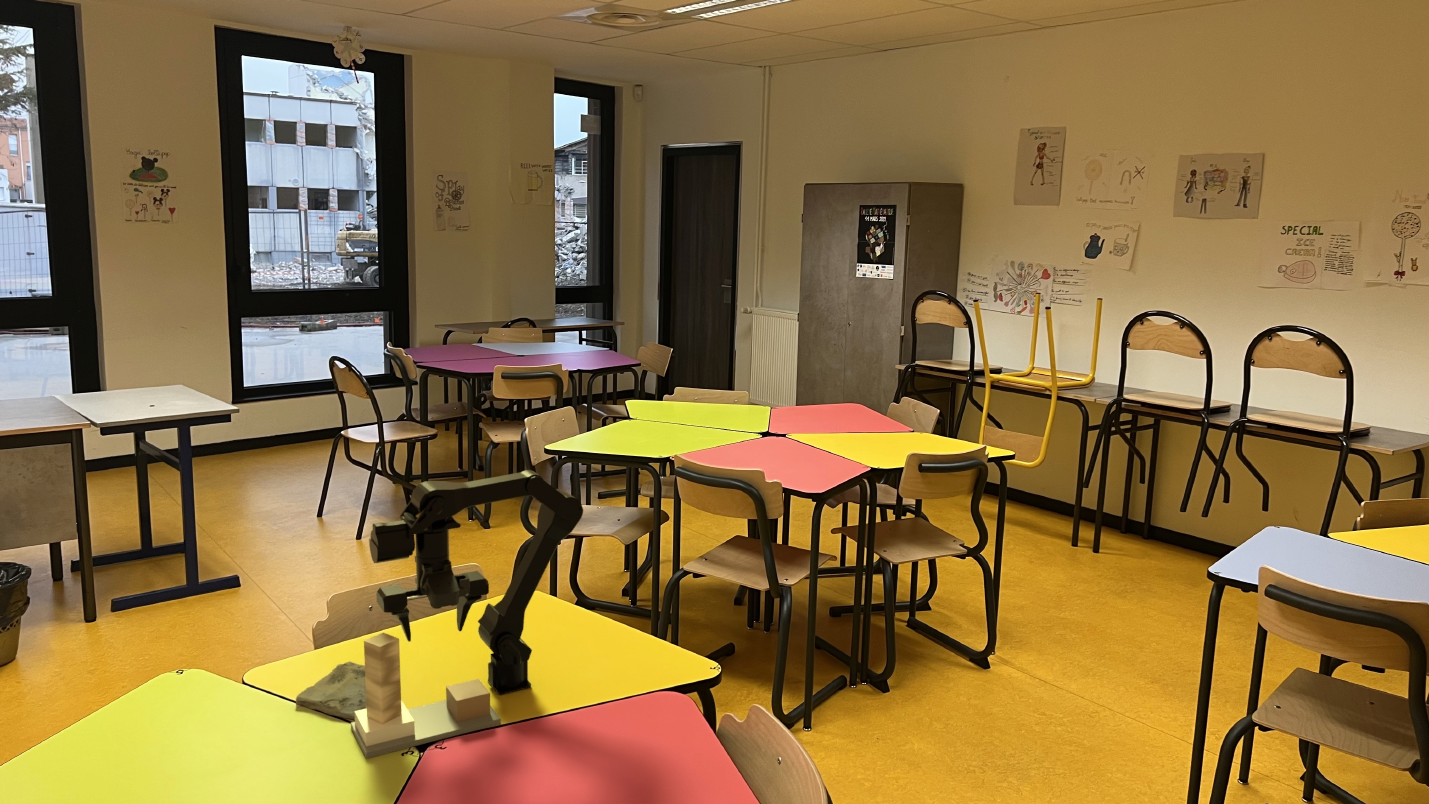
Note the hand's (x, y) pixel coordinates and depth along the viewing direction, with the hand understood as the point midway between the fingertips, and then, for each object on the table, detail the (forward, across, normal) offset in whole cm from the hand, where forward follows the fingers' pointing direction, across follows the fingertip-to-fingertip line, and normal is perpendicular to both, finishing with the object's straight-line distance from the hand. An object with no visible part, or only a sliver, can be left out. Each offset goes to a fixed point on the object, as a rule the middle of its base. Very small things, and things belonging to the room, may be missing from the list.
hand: (434, 635), depth 180 cm
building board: (+13, -4, -8) cm, 16 cm away
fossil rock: (+14, -13, +11) cm, 22 cm away
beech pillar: (+10, -11, -7) cm, 16 cm away
